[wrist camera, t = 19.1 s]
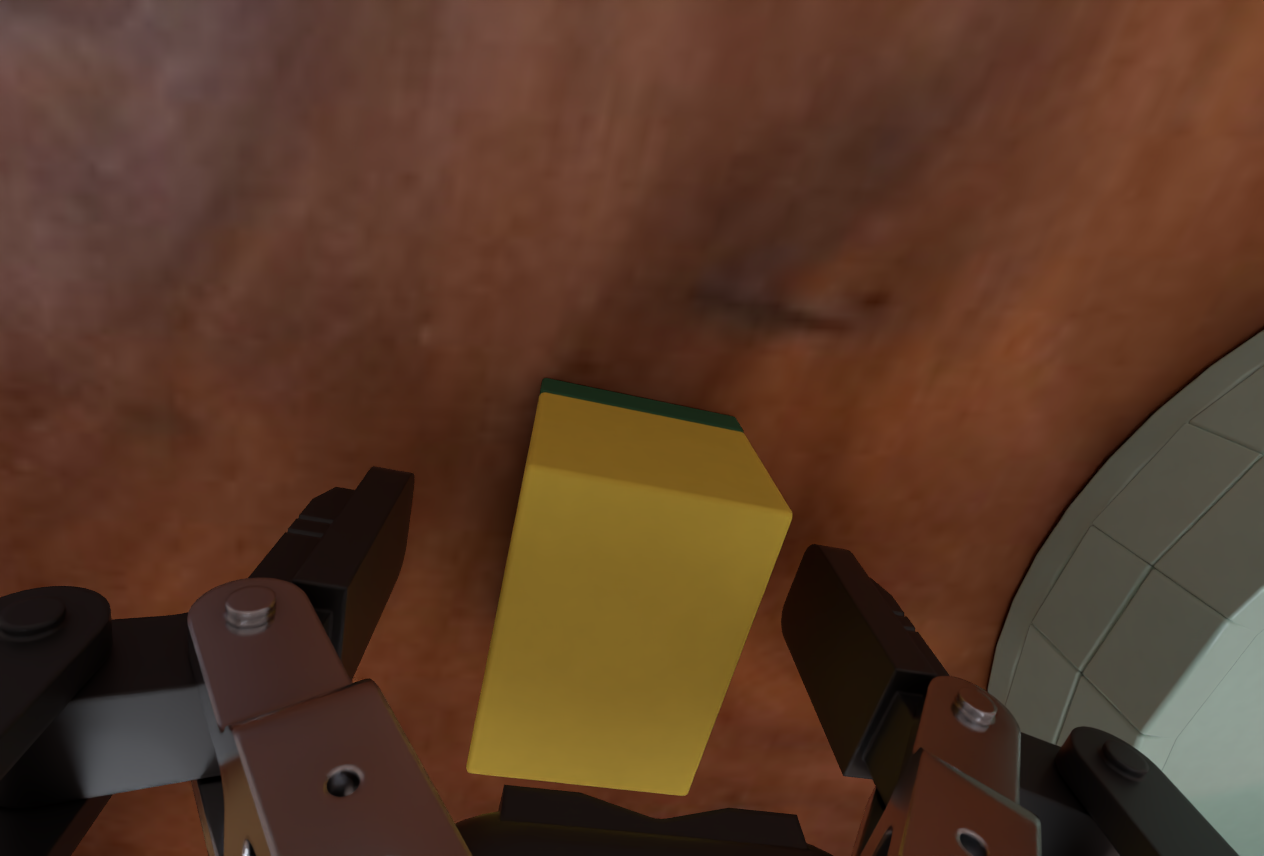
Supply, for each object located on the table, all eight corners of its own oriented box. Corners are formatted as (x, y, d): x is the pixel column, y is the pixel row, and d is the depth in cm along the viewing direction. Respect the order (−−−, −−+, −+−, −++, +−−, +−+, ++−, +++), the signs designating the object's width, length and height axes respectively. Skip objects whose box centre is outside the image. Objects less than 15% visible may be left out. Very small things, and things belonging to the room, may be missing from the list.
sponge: (543, 376, 12) (525, 464, 9) (736, 416, 13) (796, 514, 9) (494, 621, 14) (464, 775, 11) (662, 645, 15) (687, 798, 11)
